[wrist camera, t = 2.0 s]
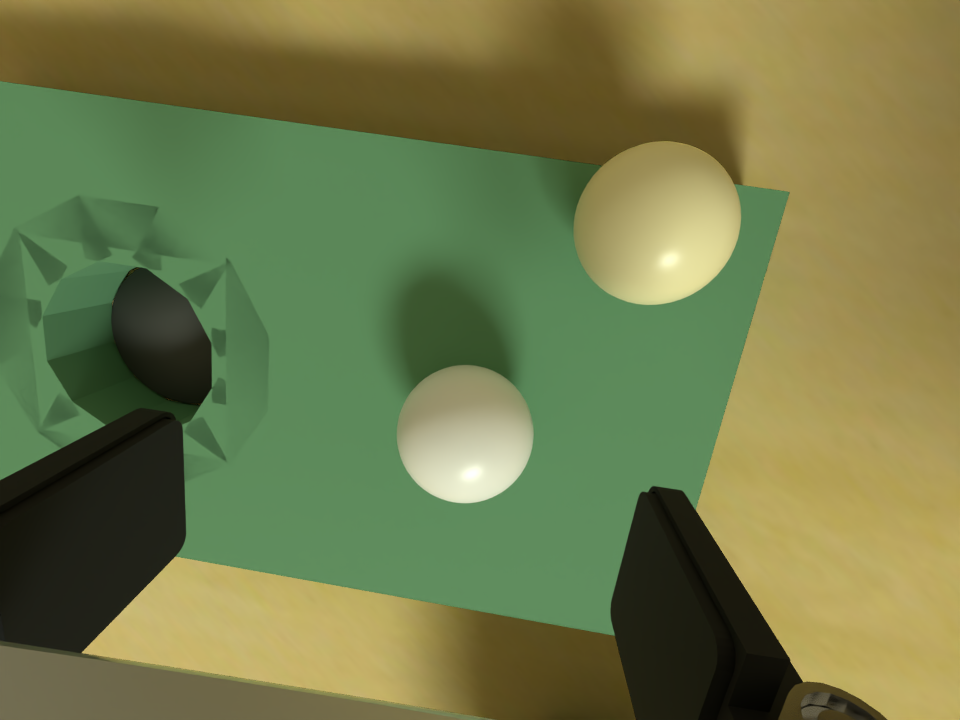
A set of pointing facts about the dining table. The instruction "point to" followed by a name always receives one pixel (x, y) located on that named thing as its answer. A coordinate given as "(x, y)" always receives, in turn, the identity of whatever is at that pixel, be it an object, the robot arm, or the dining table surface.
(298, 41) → the dining table surface
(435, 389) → the white ball
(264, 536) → the putting mat
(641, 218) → the yellow ball
